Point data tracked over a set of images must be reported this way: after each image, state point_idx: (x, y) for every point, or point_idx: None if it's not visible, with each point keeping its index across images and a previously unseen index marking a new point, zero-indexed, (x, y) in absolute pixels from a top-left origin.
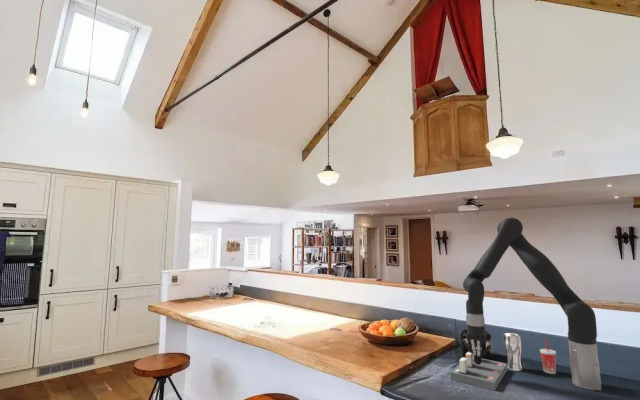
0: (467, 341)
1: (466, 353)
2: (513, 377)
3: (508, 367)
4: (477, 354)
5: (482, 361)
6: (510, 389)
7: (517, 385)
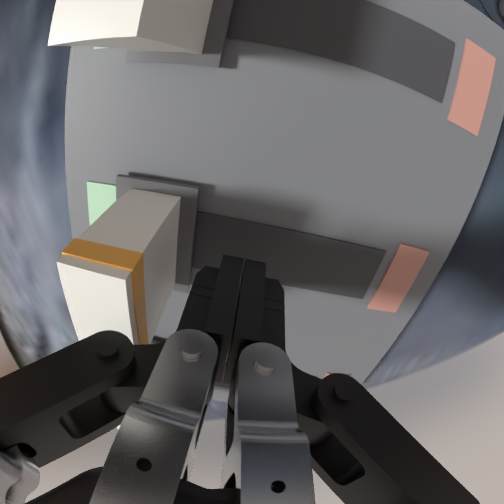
0: (26, 492)
1: (80, 338)
2: (493, 175)
3: (491, 7)
4: (228, 404)
5: (280, 28)
6: (411, 346)
7: (466, 291)
